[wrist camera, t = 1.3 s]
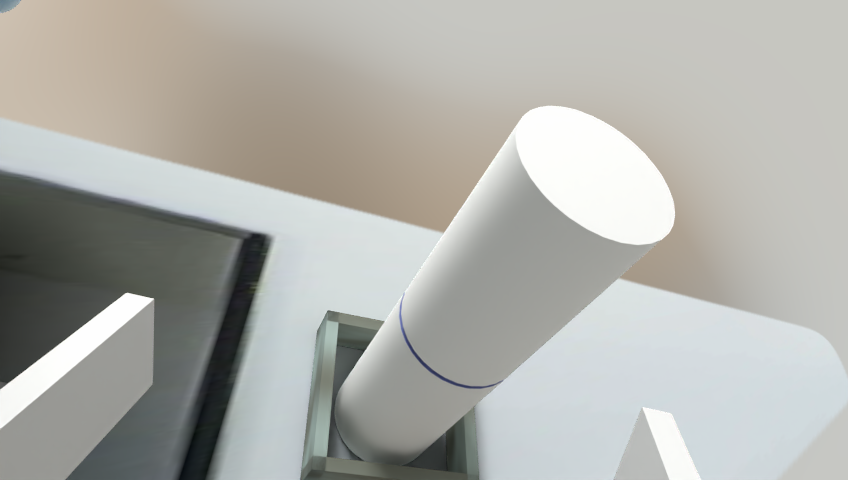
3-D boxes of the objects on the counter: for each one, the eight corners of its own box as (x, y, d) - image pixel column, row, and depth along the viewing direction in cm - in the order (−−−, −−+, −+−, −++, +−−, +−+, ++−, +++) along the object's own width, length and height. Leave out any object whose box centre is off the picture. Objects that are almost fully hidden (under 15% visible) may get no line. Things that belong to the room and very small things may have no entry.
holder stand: (470, 708, 32) (611, 700, 23) (274, 711, 29) (349, 702, 20) (452, 356, 46) (537, 262, 37) (316, 331, 43) (373, 222, 33)
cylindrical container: (312, 407, 39) (480, 138, 21) (383, 348, 44) (569, 87, 26) (386, 491, 38) (632, 277, 20) (451, 420, 43) (697, 197, 25)
